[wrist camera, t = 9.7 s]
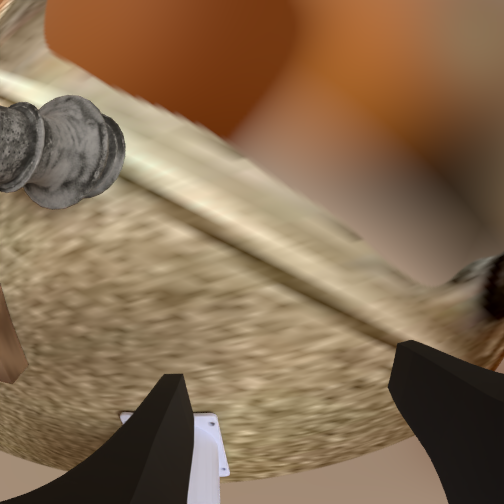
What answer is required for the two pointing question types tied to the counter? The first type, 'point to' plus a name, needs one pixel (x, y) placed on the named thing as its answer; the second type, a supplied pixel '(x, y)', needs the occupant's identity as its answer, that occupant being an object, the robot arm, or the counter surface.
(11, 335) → the walnut block
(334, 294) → the counter surface
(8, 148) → the grey stone chess piece
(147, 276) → the counter surface
